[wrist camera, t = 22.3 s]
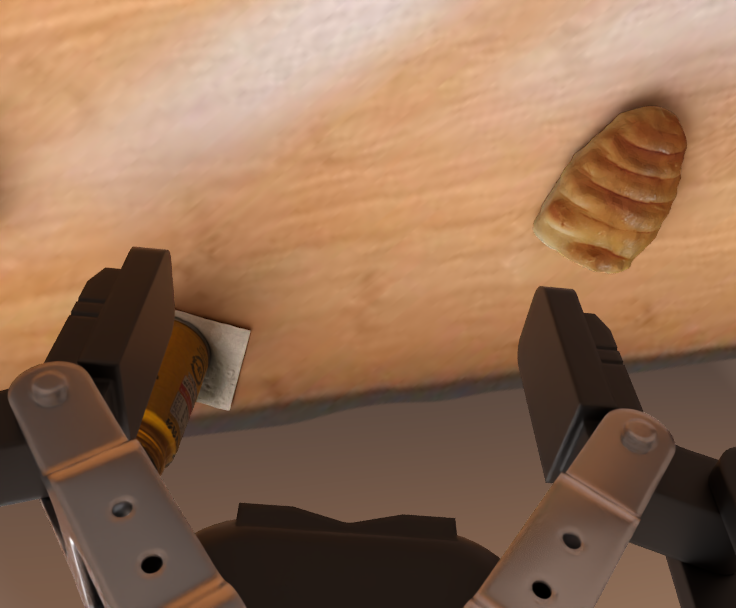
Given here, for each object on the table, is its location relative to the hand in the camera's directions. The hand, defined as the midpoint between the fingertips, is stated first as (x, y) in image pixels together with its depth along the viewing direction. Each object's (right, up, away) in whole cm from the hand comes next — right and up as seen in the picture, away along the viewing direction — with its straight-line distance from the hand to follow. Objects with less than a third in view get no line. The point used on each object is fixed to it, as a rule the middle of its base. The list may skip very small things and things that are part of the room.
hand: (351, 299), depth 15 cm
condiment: (-13, -3, +33) cm, 35 cm away
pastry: (+14, +7, +25) cm, 30 cm away
